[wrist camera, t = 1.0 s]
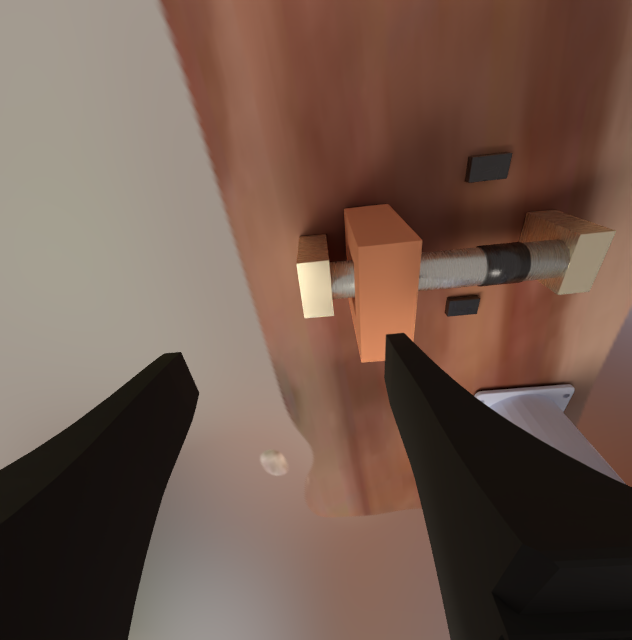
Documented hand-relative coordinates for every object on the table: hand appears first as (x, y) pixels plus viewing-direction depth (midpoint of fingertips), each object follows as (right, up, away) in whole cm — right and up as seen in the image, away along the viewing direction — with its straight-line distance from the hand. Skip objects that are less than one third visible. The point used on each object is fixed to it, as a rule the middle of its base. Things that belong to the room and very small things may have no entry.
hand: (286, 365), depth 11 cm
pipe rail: (+8, +6, +8) cm, 13 cm away
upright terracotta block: (+4, +6, +8) cm, 11 cm away
